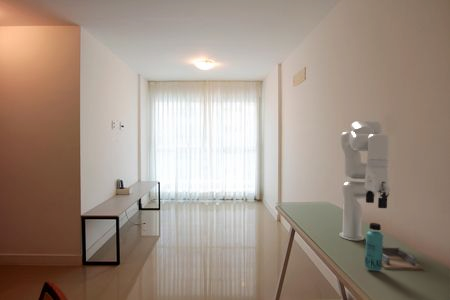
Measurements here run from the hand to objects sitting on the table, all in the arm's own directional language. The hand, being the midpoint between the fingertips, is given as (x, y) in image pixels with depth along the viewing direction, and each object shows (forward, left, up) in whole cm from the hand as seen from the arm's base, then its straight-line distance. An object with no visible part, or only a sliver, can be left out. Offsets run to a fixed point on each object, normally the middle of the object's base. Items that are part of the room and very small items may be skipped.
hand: (375, 205), depth 113 cm
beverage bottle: (0, 0, -28) cm, 28 cm away
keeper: (-10, +14, -28) cm, 33 cm away
